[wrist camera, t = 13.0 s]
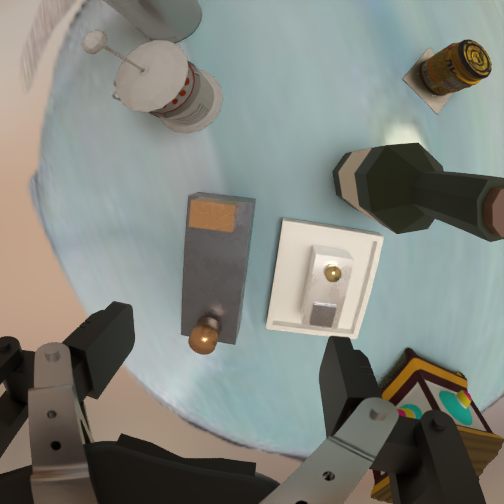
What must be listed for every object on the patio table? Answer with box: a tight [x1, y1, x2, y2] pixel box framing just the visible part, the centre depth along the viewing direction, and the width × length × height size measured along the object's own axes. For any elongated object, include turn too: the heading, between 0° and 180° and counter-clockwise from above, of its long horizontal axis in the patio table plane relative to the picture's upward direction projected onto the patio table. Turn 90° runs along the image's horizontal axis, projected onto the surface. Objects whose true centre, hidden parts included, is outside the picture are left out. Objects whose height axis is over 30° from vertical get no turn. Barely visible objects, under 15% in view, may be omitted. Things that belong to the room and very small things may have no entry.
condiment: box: [403, 40, 491, 114], centre depth 28 cm, size 7×8×12 cm
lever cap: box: [300, 245, 354, 329], centre depth 40 cm, size 10×5×6 cm, turn 173°
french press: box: [82, 30, 223, 133], centre depth 26 cm, size 10×12×25 cm
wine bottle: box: [333, 143, 504, 242], centre depth 25 cm, size 8×8×30 cm
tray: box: [266, 218, 384, 339], centre depth 42 cm, size 16×14×2 cm
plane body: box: [181, 192, 256, 354], centre depth 40 cm, size 20×8×9 cm, turn 173°
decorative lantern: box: [371, 348, 504, 503], centre depth 34 cm, size 20×20×30 cm
